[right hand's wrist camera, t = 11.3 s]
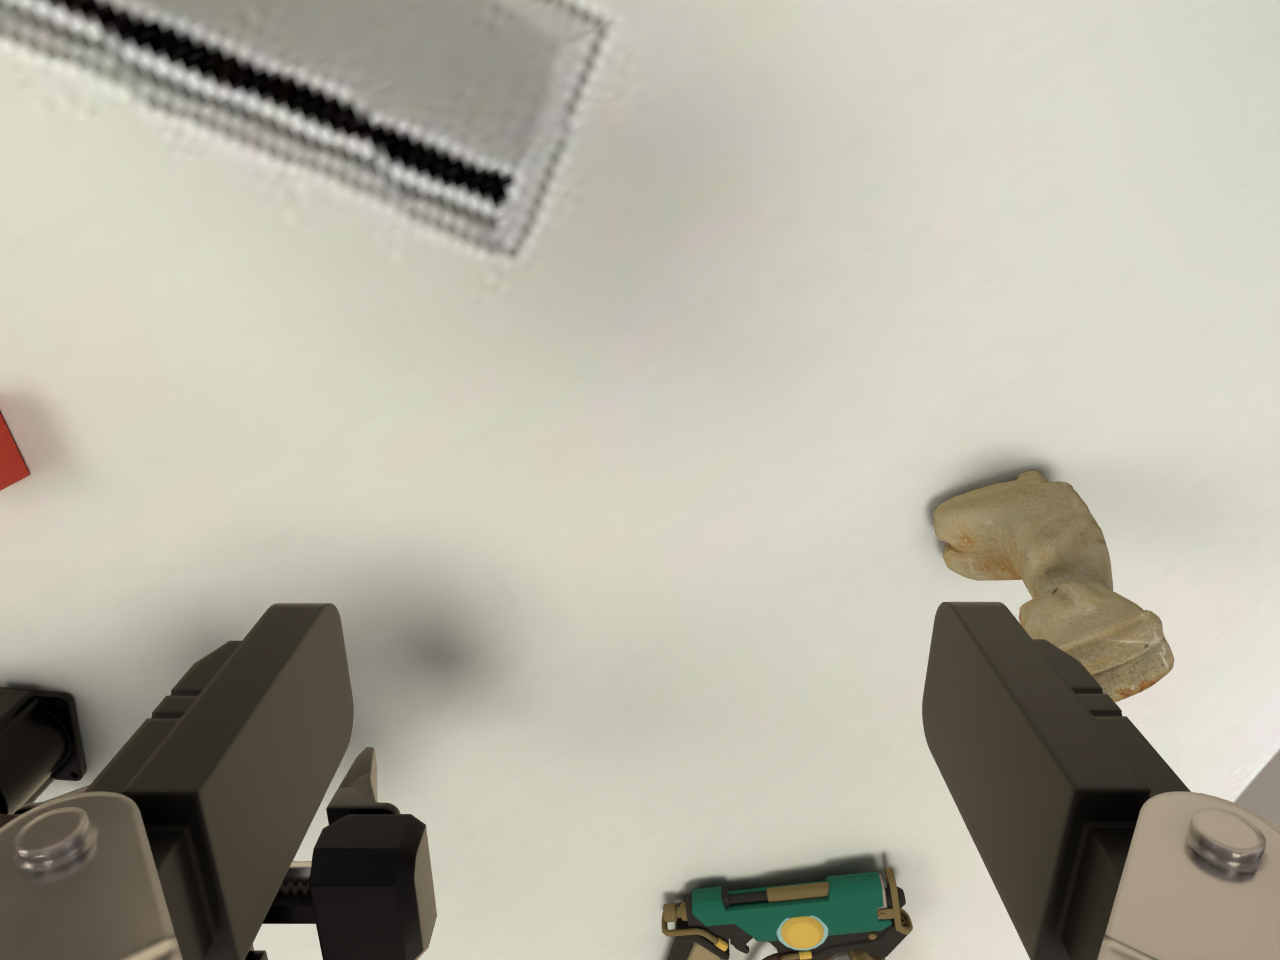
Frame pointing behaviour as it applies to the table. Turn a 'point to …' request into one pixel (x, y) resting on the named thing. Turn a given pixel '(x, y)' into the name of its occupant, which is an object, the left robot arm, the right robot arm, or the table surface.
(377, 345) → the table surface
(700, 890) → the spray gun
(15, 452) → the brick
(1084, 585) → the sculpture
